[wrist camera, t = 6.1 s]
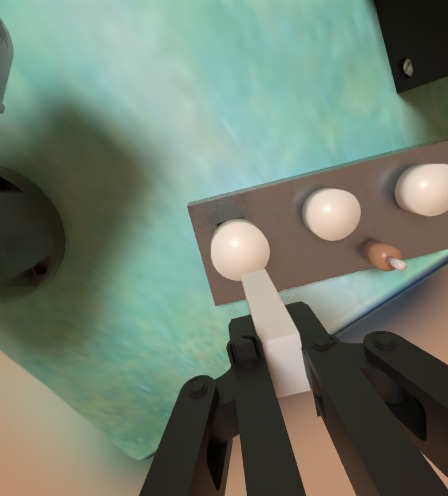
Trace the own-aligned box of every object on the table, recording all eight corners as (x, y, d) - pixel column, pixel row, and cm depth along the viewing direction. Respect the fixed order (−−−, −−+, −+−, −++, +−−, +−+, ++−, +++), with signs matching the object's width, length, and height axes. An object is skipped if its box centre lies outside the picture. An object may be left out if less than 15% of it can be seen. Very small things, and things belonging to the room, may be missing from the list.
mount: (214, 294, 36) (215, 306, 33) (188, 202, 33) (187, 206, 30) (431, 241, 36) (451, 248, 33) (429, 141, 32) (451, 139, 29)
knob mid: (297, 232, 34) (314, 246, 29) (290, 191, 32) (306, 197, 27) (338, 222, 34) (362, 233, 28) (333, 180, 32) (358, 184, 27)
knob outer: (379, 212, 34) (411, 221, 28) (376, 169, 32) (409, 171, 27) (421, 201, 34) (461, 209, 28) (420, 158, 32) (461, 158, 27)
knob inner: (216, 264, 30) (218, 286, 25) (204, 219, 29) (204, 232, 23) (262, 253, 30) (274, 273, 25) (253, 207, 29) (263, 218, 23)
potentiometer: (363, 264, 33) (390, 281, 28) (361, 243, 32) (388, 257, 27) (385, 258, 33) (416, 275, 28) (383, 237, 32) (415, 250, 27)
